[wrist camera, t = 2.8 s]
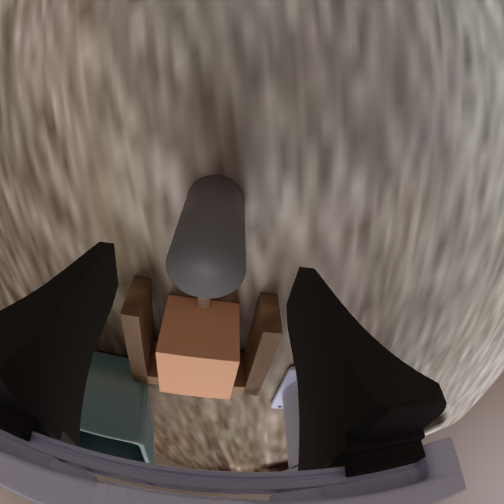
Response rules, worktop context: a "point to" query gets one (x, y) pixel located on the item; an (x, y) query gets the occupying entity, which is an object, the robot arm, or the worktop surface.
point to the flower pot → (116, 411)
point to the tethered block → (204, 293)
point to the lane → (144, 346)
